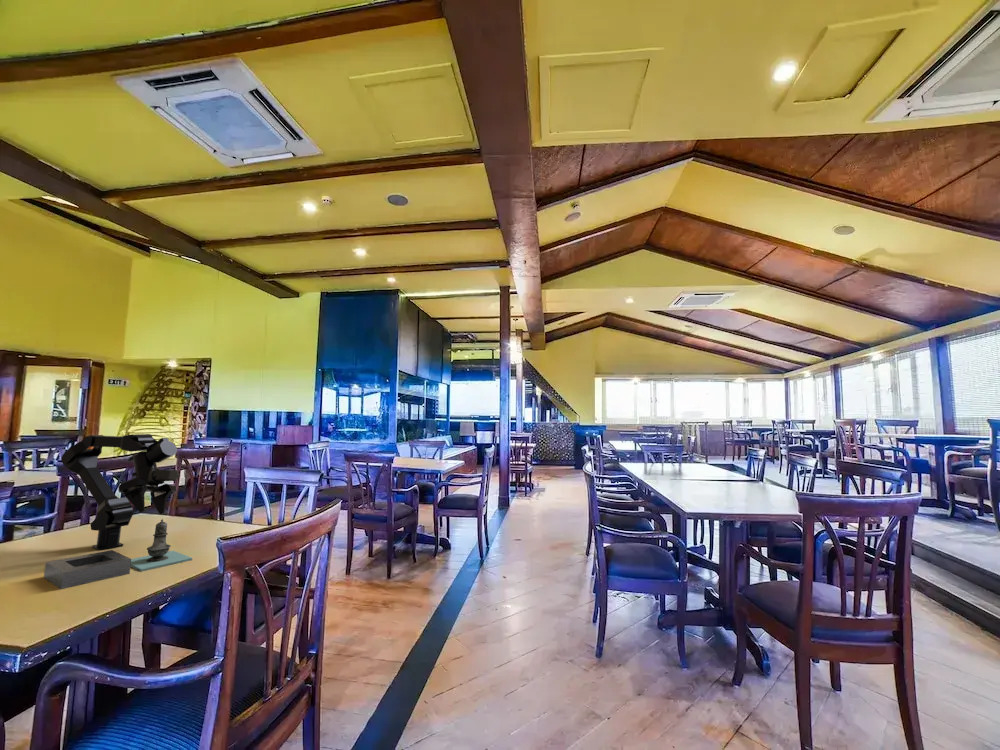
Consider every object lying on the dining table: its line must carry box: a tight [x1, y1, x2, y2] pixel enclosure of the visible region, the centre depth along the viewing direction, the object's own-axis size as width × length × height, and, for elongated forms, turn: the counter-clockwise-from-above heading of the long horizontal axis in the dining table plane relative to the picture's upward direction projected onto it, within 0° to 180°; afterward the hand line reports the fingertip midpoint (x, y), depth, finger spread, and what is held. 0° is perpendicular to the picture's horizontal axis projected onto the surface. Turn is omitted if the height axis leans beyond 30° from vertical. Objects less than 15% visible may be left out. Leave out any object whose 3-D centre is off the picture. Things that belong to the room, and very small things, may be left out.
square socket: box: [43, 549, 132, 590], centre depth 119 cm, size 14×14×4 cm
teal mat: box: [130, 550, 193, 572], centre depth 132 cm, size 13×13×1 cm
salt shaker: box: [146, 518, 172, 562], centre depth 132 cm, size 6×6×12 cm
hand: (152, 513), depth 140 cm, fingers open, 9 cm apart
